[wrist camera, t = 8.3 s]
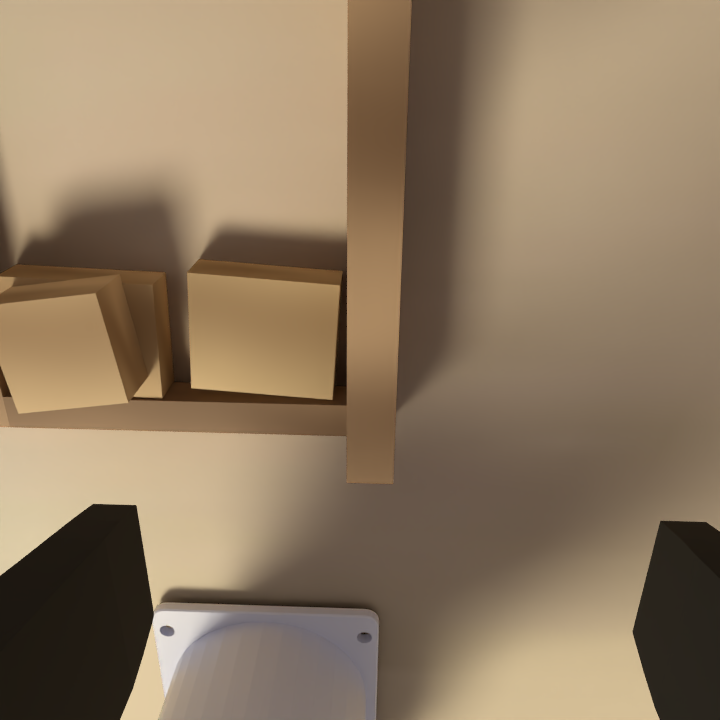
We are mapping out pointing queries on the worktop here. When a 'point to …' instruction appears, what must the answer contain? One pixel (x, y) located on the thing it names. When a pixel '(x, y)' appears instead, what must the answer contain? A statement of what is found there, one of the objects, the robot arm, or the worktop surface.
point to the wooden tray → (364, 285)
